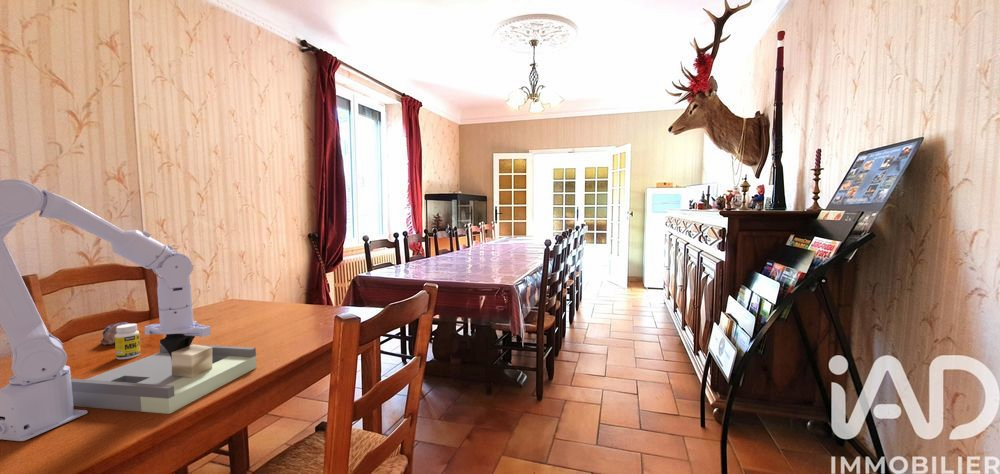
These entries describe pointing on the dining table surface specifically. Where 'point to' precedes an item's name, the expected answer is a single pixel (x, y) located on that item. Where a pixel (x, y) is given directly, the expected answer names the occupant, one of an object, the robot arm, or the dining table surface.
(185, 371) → the birch block
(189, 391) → the board
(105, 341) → the skull
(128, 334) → the supplement bottle
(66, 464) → the dining table surface
